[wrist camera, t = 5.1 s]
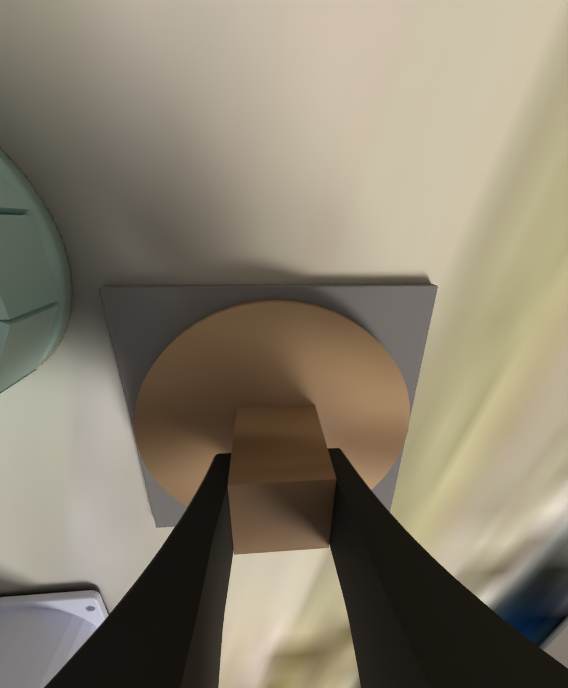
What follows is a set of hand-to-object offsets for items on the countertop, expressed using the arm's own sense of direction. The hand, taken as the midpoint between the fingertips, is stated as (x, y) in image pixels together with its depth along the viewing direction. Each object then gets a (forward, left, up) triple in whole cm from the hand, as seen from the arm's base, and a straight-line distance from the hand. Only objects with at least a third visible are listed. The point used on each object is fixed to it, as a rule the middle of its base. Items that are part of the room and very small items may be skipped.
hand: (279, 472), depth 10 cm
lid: (0, 0, -2) cm, 3 cm away
